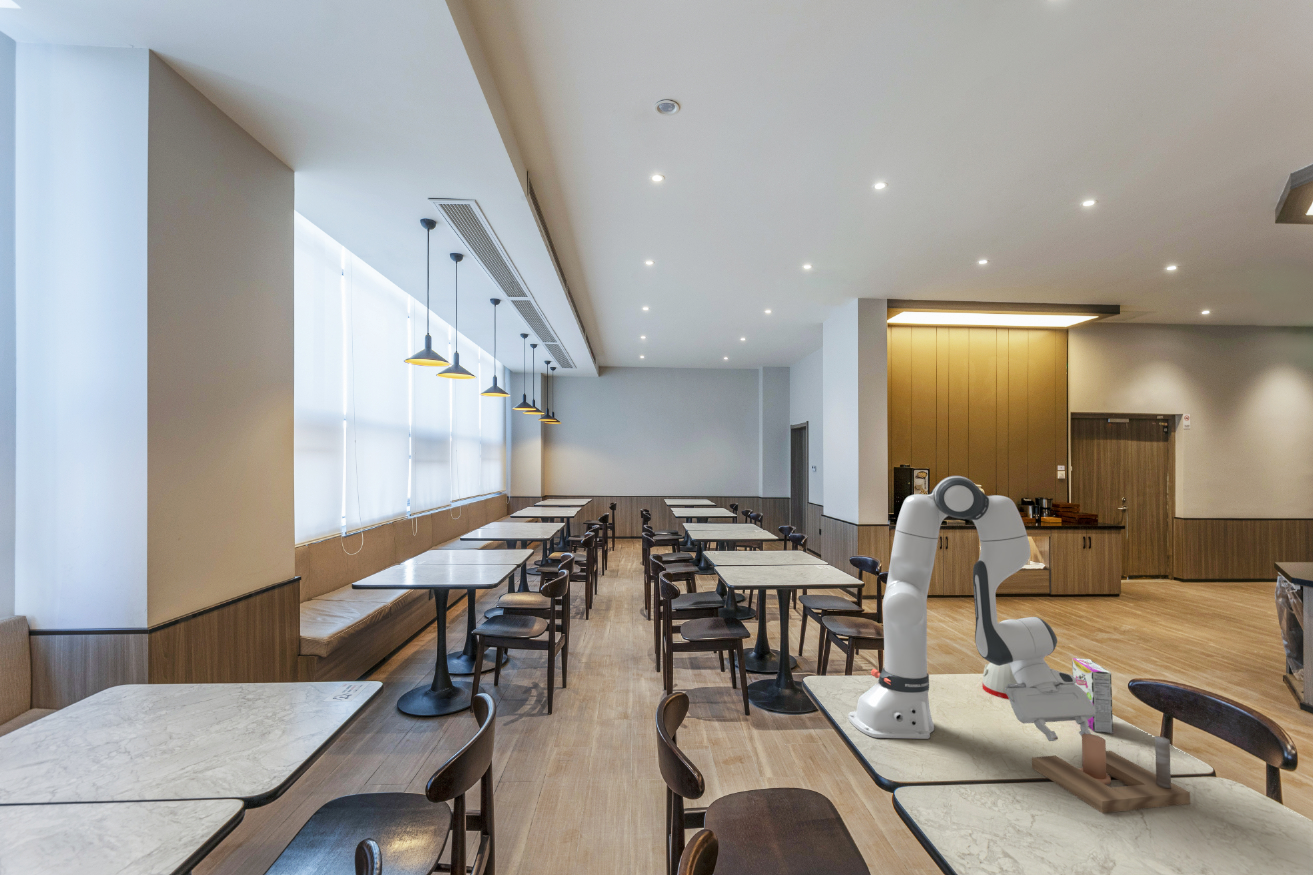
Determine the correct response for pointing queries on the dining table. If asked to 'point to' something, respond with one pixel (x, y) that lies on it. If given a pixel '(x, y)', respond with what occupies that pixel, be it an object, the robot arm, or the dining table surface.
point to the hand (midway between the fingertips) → (1071, 739)
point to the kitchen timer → (997, 679)
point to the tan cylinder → (1094, 758)
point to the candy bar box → (1095, 692)
